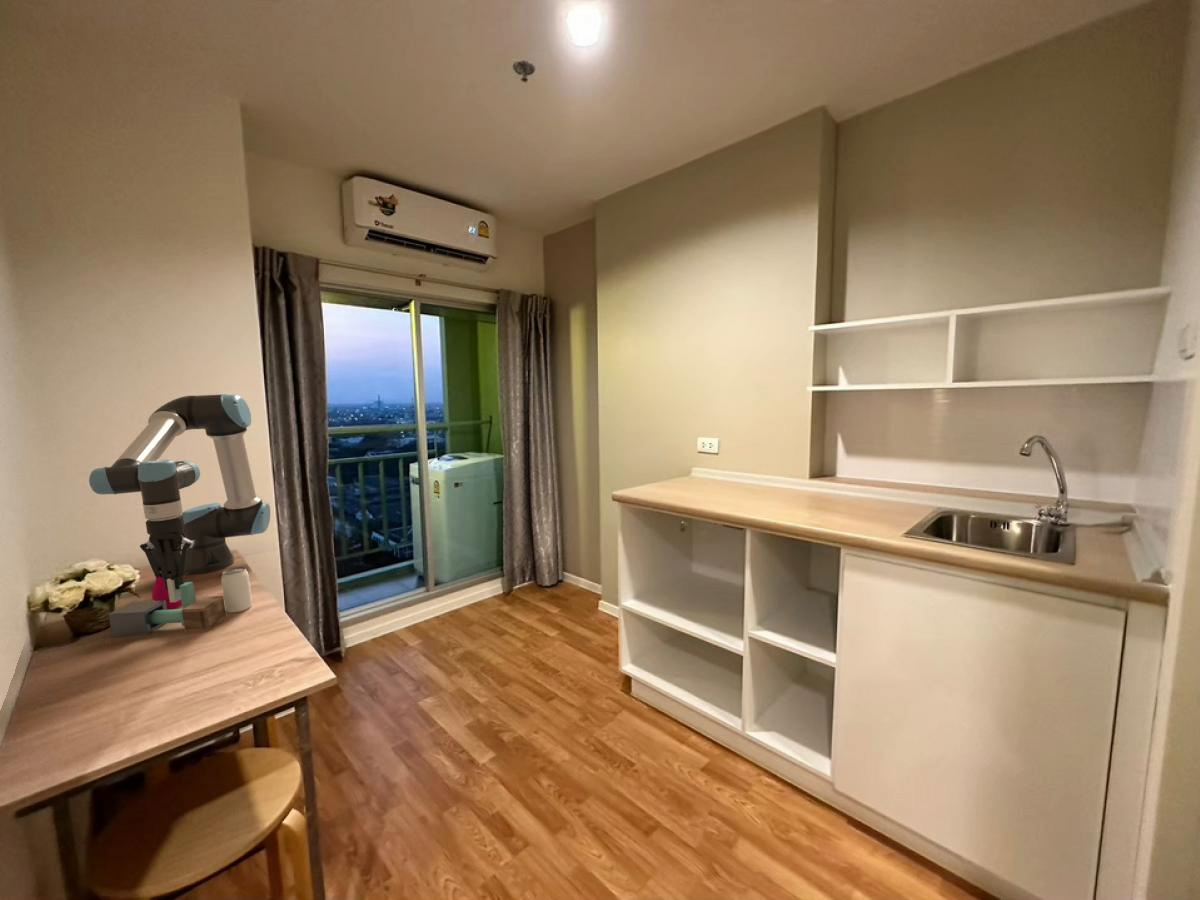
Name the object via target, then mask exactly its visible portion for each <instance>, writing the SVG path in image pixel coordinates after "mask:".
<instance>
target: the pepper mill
mask: <svg viewBox="0 0 1200 900" xmlns="http://www.w3.org/2000/svg"><path fill="white" fill-rule="evenodd" d="M151 598H152V601H160V600H166V606H167V610H172V609H178V608H180V607H181V606H182V600H181V599H180V600H178V601H176V602H170V599H169V592H168V590H166V588H165V581H164V579H163V578H162V577H155V583H154V586H153V588H152V593H151Z"/></svg>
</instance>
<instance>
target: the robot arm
mask: <svg viewBox="0 0 1200 900" xmlns="http://www.w3.org/2000/svg"><path fill="white" fill-rule="evenodd" d="M147 421H148V422H147V423H148V424H147V425H146V426H145V427H144V429H143V430H142V431H141V432H140V433H139V434H138V435H137V436H136V438H135V439H134V440H133V441H132V442H131V443H130V445H129V446H128V447H127V448H126V449H125V450H124V452H122V454H121V455H120V456H118V458H117V459H116V461H115V462H114V463H112V464H111V466H108V467H107V466H103V467H98V468H97V467H96V468H95V469H93V470H91V473H90V474H89V478H88V483H89V487H90V489H91V490H92V491H93V493H95V494H97V495H119V494H121V495H122V494H131V493H141V499H142V507H143V514H144V518H145V519H146V521H145V527H146V528H145V529H146V533H147V535H149V537H148V541H146V542H144V543H142V544H140V545H139V548H140V549H141V551H142V552H144V553H145V556H146V558H147V561H148V563H149V566H150V567H151V570H152V573H153V574H154V577H155V578H156V577H162V578H163V579H164V581H165V588H166V590H168V592H169V599H170V602H176V601H178V600H180V599H181V594H180V587H179V586H180V585H182V584H184V578H183V577H184V576H185V575H199V574H207V573H210V572H214V571H218V570H222V569H224V568H227V567H230V566H232V565H233V564H234V563H235V556H234V554H233V553H232V551H231V549H230V548H229V546H228V544H227V541H226V538H235V537H236V538H237V537H245V536H254V535H260V534H263V533H265V532H266V531H267V530H268V528H269V525H270V521H271V520H270V519H271V507H270V504H269V503H268V502H263V500H262V497H261V496H260V495H257V494H256V490H255V485H254V480H253V476H252V472H251V467H250V462H249V457H248V453H247V449H246V443H245V439H244V434H245V433H246V432H247V431H248V429H247V428H248V427H250V426H251V423H252V413H251V410H250V407H249V404H248V403H247V401H246V400H245V399H244V398H243V397H242V396H240V395H238V394H226V393H225V394H224V393H223V394H204V395H203V394H202V395H201V394H200V395H185V396H180V397H177V398H175V399H172V400H171V401H168V402H167V403H165V404H163V405H161V406H160V407H158V408H157V409H156V410H155V411H154V412H153V413H151V414H150V416H149V417H148V420H147ZM191 430H205V434H206V436H207V437H209V438H211V439H212V440H213V443H214V444H213V445H214V449H215V453H216V457H217V460H218V461H217V462H218V465H219V469H220V474H221V477H222V478H221V479H222V482H223V486H224V491H225V494H226V499H227V500H226V501H225V502H224V503H223V506H222V504H221V503H219V502H213V503H207V504H202V505H199V506H194V507H192V508H189V509H187V510H184V511H183V506H182V500H181V494H180V493H181V492H180V490H182V489H184V488H188V487H191V486H192V485H193V484H195V483H197V481H198V480H199V479H200V476H201V471H200V468H199V466H198V465H197V464H196V463H193V462H192V461H189V460H179V461H178V460H177V461H174V460H173V459H160V458H161V457H162V455H163V454H164V453H165V451H166V450H167V449H168V447H169V446H170V445H171V443H172V442H173V441H174V440H175V438H176V437H179V436H181V435H183V434H184V432H185V431H191Z"/></svg>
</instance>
